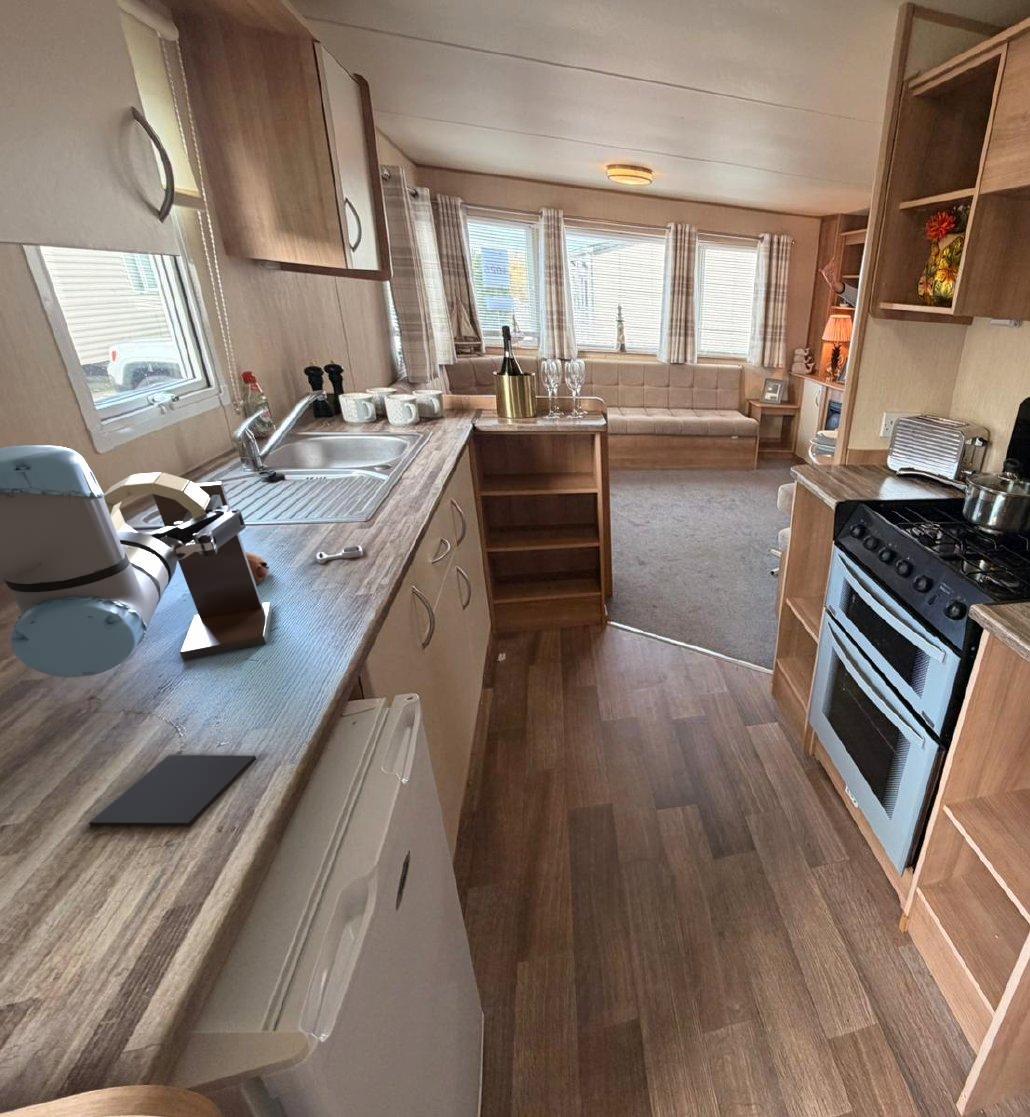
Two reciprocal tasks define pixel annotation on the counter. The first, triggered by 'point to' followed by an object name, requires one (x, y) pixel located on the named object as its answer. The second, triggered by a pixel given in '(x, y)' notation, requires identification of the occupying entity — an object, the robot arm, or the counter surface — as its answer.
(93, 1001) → the counter surface
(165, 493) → the tape roll
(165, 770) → the mat
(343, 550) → the metal bottle opener
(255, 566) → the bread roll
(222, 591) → the stand
